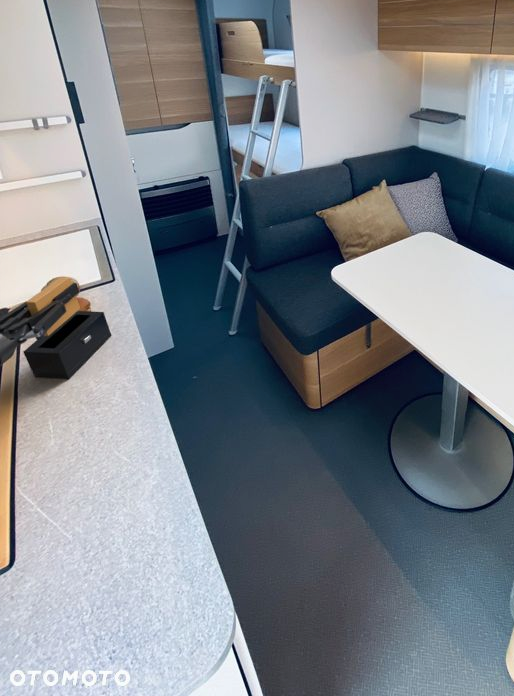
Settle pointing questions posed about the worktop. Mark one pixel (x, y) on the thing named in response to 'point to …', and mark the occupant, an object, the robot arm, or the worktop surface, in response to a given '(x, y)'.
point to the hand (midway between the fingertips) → (70, 287)
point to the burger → (83, 304)
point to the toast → (47, 297)
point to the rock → (58, 278)
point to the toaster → (68, 346)
